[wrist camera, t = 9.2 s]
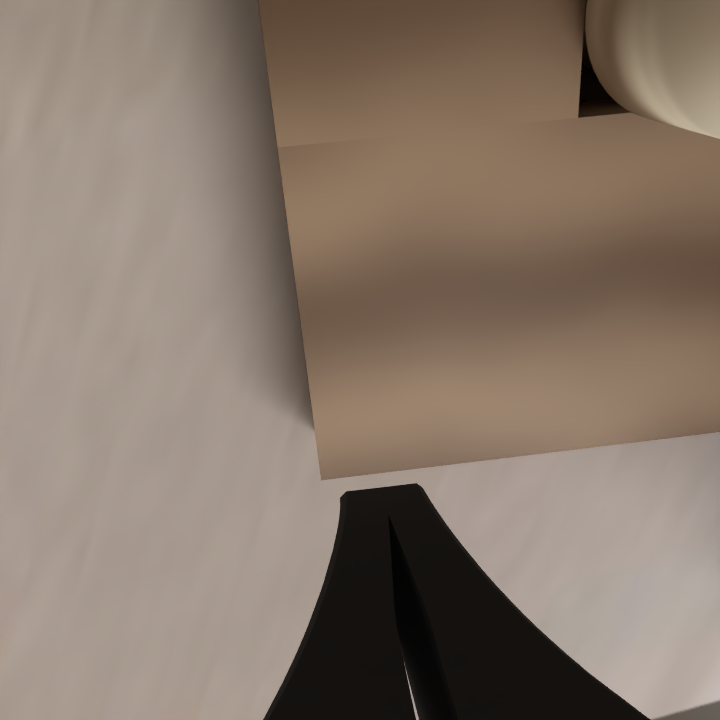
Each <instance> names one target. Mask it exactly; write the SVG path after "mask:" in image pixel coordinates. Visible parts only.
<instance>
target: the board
mask: <svg viewBox="0 0 720 720" xmlns="http://www.w3.org/2000/svg"><path fill="white" fill-rule="evenodd" d="M258 3H259V11H260V18H261V26H262V33H263V41H264V49H265V56H266V64H267V71H268V79H269V87H270V94H271V102H272V109H273V117H274V125H275V132H276V140H277V147H278V155H279V162H280V170H281V178H282V185H283V193H284V200H285V208H286V216H287V223H288V231H289V238H290V246H291V254H292V261H293V269H294V276H295V284H296V292H297V299H298V307H299V314H300V322H301V330H302V337H303V345H304V352H305V360H306V368H307V375H308V383H309V390H310V398H311V406H312V413H313V421H314V428H315V436H316V444H317V451H318V459H319V466H320V474H321V480H327V479H335V478H343V477H351V476H360V475H368V474H376V473H384V472H393V471H401V470H409V469H417V468H426V467H434V466H442V465H450V464H459V463H467V462H475V461H483V460H492V459H500V458H508V457H516V456H525V455H533V454H541V453H549V452H558V451H566V450H574V449H582V448H591V447H599V446H607V445H615V444H624V443H632V442H640V441H648V440H657V439H665V438H673V437H681V436H690V435H698V434H706V433H714V432H720V139H719V138H715V137H711V136H708V135H704V134H701V133H697V132H693V131H690V130H686V129H683V128H679V127H675V126H672V125H668V124H665V123H661V122H658V121H654V120H650V119H647V118H644V117H641V116H638V115H636V114H634V113H632V112H630V111H628V110H626V109H625V108H623V107H622V106H621V105H619V104H618V103H617V102H616V101H615V100H614V99H608V100H597V101H587V102H579V95H580V79H581V64H582V49H583V34H584V18H585V3H586V0H258Z"/></svg>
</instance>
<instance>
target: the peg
mask: <svg viewBox="0 0 720 720" xmlns="http://www.w3.org/2000/svg"><path fill="white" fill-rule="evenodd" d="M582 63H583V64H584V65H585V66H586V67H587V68H588V69H590V70H591V71H592V72H594V73H595V74H596V76H597V78H598V80H599V82H600V83H601V85H602V86H603V87H604V89H605V90H606V92H607V93H608V94H609V95H610V96H611V97H612V98H613V99H614V100H615V101H616V102H617V103H618V104H619V105H621V106H622V107H623V108H625V109H626V110H628V111H630V112H632V113H634V114H636V115H638V116H641V117H644V118H647V119H650V120H654V121H658V122H661V123H665V124H668V125H672V126H675V127H679V128H683V129H686V130H690V131H693V132H697V133H701V134H704V135H708V136H711V137H715V138H719V139H720V0H586V3H585V18H584V34H583V49H582Z"/></svg>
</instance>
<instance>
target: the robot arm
mask: <svg viewBox="0 0 720 720" xmlns="http://www.w3.org/2000/svg"><path fill="white" fill-rule="evenodd" d="M404 663H405V665H404ZM405 667H406V670H405ZM406 671H407V675H408V679H409V683H410V686H411V690H412V694H413V698H414V702H415V706H416V709H417V713H418V717H419V720H650V719H649V718H647V717H646V716H645V715H643V714H642V713H641V712H639V711H638V710H637V709H635V708H634V707H633V706H632V705H630V704H629V703H628V702H626V701H625V700H624V699H622V698H621V697H620V696H618V695H617V694H616V693H614V692H613V691H612V690H610V689H609V688H608V687H606V686H605V685H604V684H603V683H601V682H600V681H599V680H597V679H596V678H595V677H593V676H592V675H591V674H590V673H588V672H587V671H586V670H585V669H584V668H582V667H581V666H580V665H579V664H578V663H577V662H575V661H574V660H573V659H572V658H571V657H569V656H568V655H567V654H566V653H565V652H564V651H562V650H561V649H560V648H559V647H558V646H557V645H556V644H555V643H554V642H552V641H551V640H550V639H549V638H548V637H547V636H546V635H545V634H544V633H543V632H542V631H540V630H539V629H538V628H537V627H536V626H535V625H534V624H533V623H532V622H531V621H530V620H529V619H528V618H527V617H526V616H525V615H524V614H523V613H522V612H521V611H520V610H519V609H518V608H517V607H516V606H515V605H514V604H513V603H512V602H511V601H510V600H509V599H508V598H507V596H506V595H505V594H504V593H503V592H502V591H501V590H500V589H499V588H498V587H497V586H496V585H495V584H494V582H493V581H492V580H491V579H490V578H489V577H488V576H487V575H486V573H485V572H484V571H483V570H482V569H481V568H480V566H479V565H478V564H477V563H476V561H475V560H474V559H473V558H472V557H471V555H470V554H469V553H468V552H467V551H466V549H465V548H464V547H463V546H462V544H461V543H460V542H459V541H458V539H457V538H456V537H455V535H454V534H453V533H452V531H451V530H450V529H449V527H448V526H447V525H446V523H445V522H444V520H443V519H442V518H441V516H440V515H439V513H438V512H437V510H436V509H435V507H434V506H433V504H432V503H431V501H430V499H429V498H428V496H427V494H426V493H425V491H424V489H423V488H422V487H421V486H419V485H418V484H417V483H416V484H407V485H398V486H390V487H381V488H373V489H364V490H356V491H347V492H345V493H344V494H343V495H342V496H341V497H340V516H339V524H338V529H337V534H336V539H335V544H334V548H333V552H332V555H331V559H330V562H329V566H328V569H327V573H326V576H325V580H324V583H323V586H322V589H321V592H320V595H319V598H318V600H317V603H316V606H315V608H314V611H313V614H312V617H311V619H310V622H309V625H308V627H307V630H306V632H305V635H304V637H303V639H302V642H301V644H300V647H299V649H298V651H297V653H296V656H295V658H294V660H293V662H292V664H291V666H290V668H289V671H288V673H287V675H286V677H285V679H284V681H283V683H282V685H281V687H280V689H279V691H278V693H277V695H276V696H275V698H274V700H273V702H272V704H271V706H270V708H269V710H268V712H267V714H266V715H265V717H264V719H263V720H416V718H415V713H414V708H413V703H412V699H411V694H410V689H409V684H408V680H407V675H406Z"/></svg>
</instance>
